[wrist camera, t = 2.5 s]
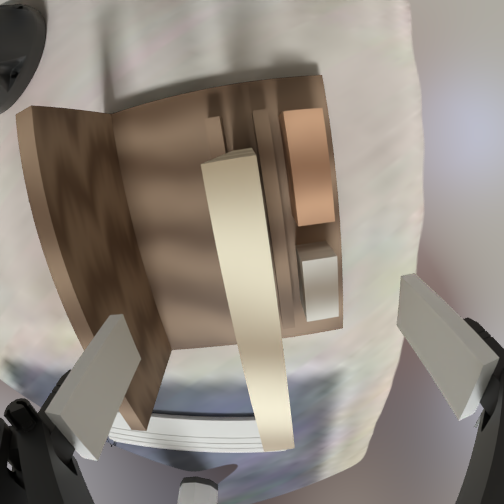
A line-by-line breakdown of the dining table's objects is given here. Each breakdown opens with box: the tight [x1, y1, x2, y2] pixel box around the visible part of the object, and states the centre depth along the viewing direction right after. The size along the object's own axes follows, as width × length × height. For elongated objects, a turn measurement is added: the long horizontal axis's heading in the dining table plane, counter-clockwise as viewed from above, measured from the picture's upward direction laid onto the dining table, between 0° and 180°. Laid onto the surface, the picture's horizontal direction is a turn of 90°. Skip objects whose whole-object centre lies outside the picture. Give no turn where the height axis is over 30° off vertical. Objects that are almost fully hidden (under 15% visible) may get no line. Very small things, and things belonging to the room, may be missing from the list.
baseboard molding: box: [107, 410, 285, 453], centre depth 40 cm, size 31×3×12 cm
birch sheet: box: [201, 148, 294, 452], centre depth 19 cm, size 14×2×18 cm, turn 9°
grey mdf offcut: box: [295, 241, 339, 322], centre depth 27 cm, size 6×3×4 cm, turn 9°
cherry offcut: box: [278, 108, 335, 226], centre depth 24 cm, size 9×3×4 cm, turn 9°
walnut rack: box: [16, 75, 343, 431], centre depth 23 cm, size 26×21×14 cm
